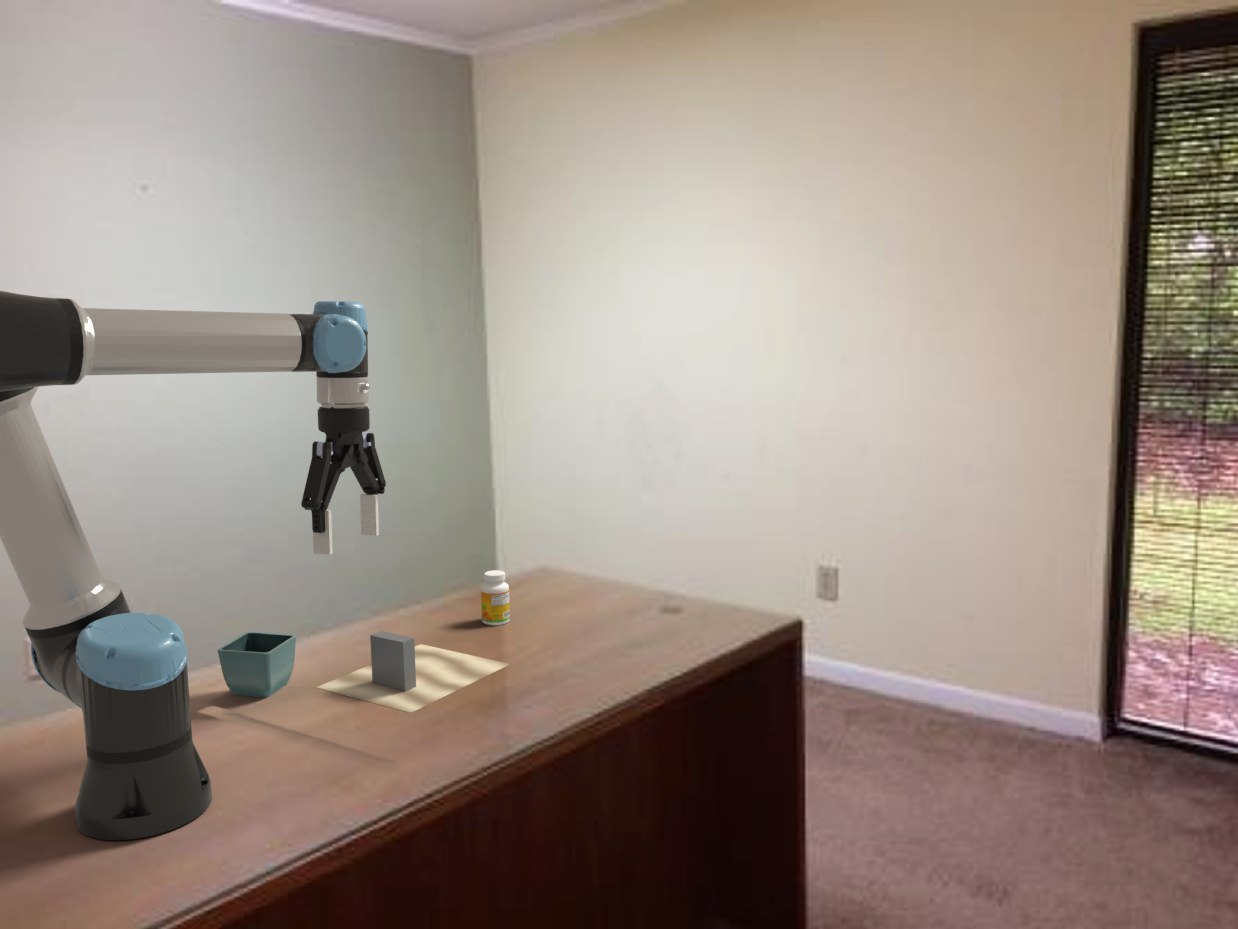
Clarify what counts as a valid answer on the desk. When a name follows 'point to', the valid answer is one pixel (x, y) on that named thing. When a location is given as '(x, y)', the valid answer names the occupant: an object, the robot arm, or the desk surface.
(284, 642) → the flower pot
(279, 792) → the desk surface
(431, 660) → the board
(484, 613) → the supplement bottle
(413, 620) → the desk surface
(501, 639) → the desk surface
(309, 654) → the desk surface
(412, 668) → the tile
